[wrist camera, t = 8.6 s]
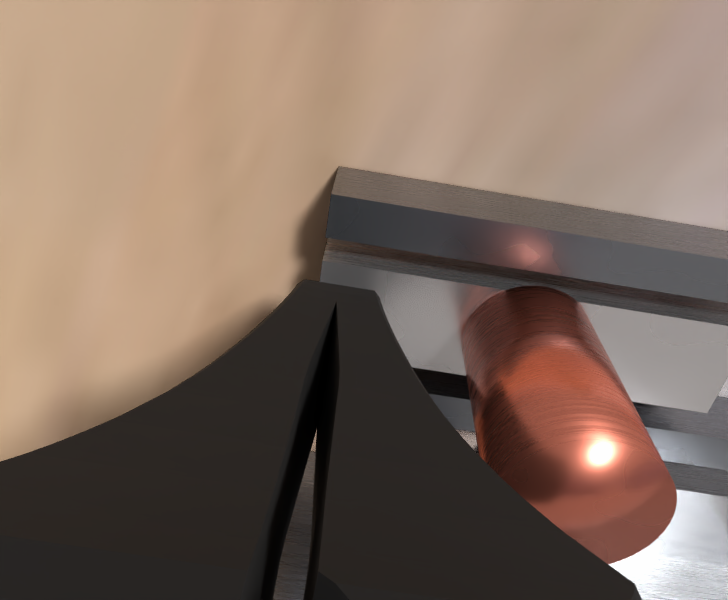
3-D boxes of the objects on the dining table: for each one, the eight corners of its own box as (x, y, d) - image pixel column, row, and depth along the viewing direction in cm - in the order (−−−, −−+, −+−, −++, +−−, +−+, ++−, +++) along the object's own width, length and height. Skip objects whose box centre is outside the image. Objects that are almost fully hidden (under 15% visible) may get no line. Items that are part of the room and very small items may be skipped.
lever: (728, 289, 12) (927, 491, 8) (679, 384, 13) (824, 607, 9) (330, 224, 12) (288, 393, 7) (316, 327, 13) (272, 527, 8)
